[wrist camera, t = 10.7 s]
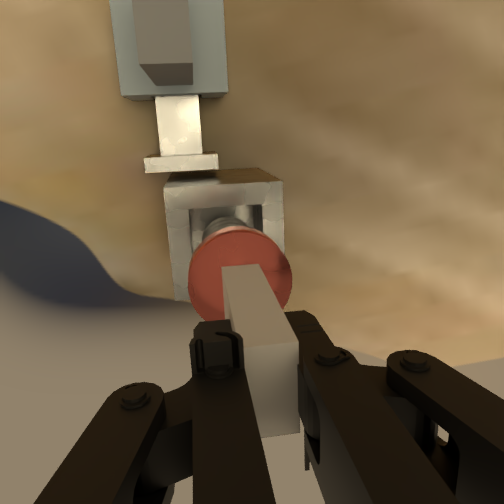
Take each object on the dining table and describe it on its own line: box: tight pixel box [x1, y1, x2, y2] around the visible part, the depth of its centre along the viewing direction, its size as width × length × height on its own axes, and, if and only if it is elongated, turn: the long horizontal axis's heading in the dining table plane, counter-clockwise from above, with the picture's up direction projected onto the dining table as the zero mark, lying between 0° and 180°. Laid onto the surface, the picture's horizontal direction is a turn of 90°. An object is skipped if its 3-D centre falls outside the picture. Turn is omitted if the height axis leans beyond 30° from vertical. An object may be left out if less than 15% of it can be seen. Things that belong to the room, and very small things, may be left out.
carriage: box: [109, 0, 228, 101], centre depth 25 cm, size 7×6×14 cm
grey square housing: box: [163, 168, 285, 301], centre depth 30 cm, size 7×7×10 cm
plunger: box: [188, 216, 292, 321], centre depth 22 cm, size 5×5×7 cm
